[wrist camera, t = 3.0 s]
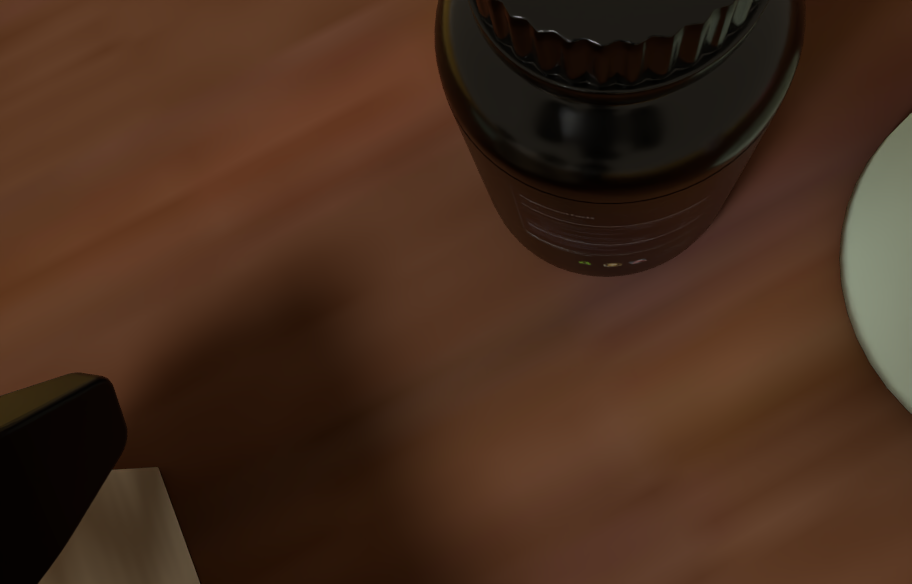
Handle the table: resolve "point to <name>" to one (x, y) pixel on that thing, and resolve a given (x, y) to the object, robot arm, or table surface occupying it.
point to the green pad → (882, 261)
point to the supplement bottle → (614, 115)
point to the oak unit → (126, 537)
